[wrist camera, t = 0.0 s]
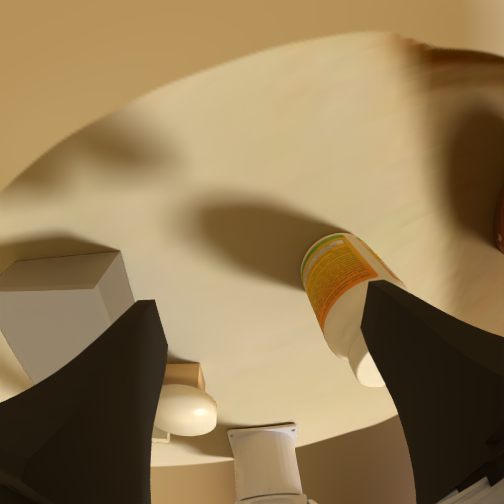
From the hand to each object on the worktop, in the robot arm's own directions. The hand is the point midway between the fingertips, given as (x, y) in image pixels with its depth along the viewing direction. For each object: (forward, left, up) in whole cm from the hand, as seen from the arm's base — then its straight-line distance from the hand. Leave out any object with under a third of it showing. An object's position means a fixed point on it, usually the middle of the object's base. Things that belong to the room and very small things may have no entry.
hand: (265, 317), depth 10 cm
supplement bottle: (-4, -6, -10) cm, 13 cm away
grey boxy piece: (-6, +14, -10) cm, 19 cm away
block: (-14, +6, -10) cm, 18 cm away
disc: (-14, +6, -7) cm, 17 cm away
